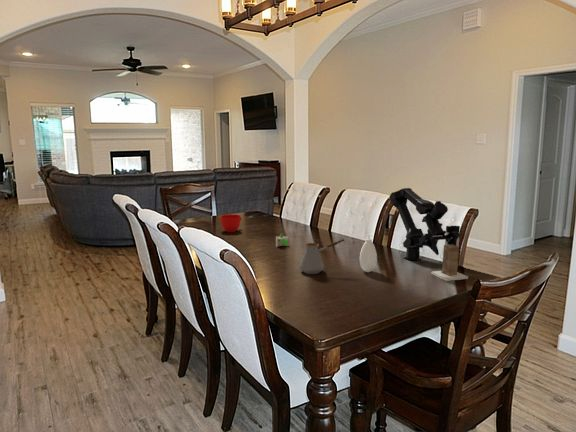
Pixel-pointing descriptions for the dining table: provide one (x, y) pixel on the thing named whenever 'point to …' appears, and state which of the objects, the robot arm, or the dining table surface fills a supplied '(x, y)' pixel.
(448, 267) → the walnut block
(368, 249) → the white teardrop shape
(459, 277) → the felt coaster
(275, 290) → the dining table surface
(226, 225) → the ceramic cup
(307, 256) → the coffee pot
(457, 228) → the travel mug
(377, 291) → the dining table surface
